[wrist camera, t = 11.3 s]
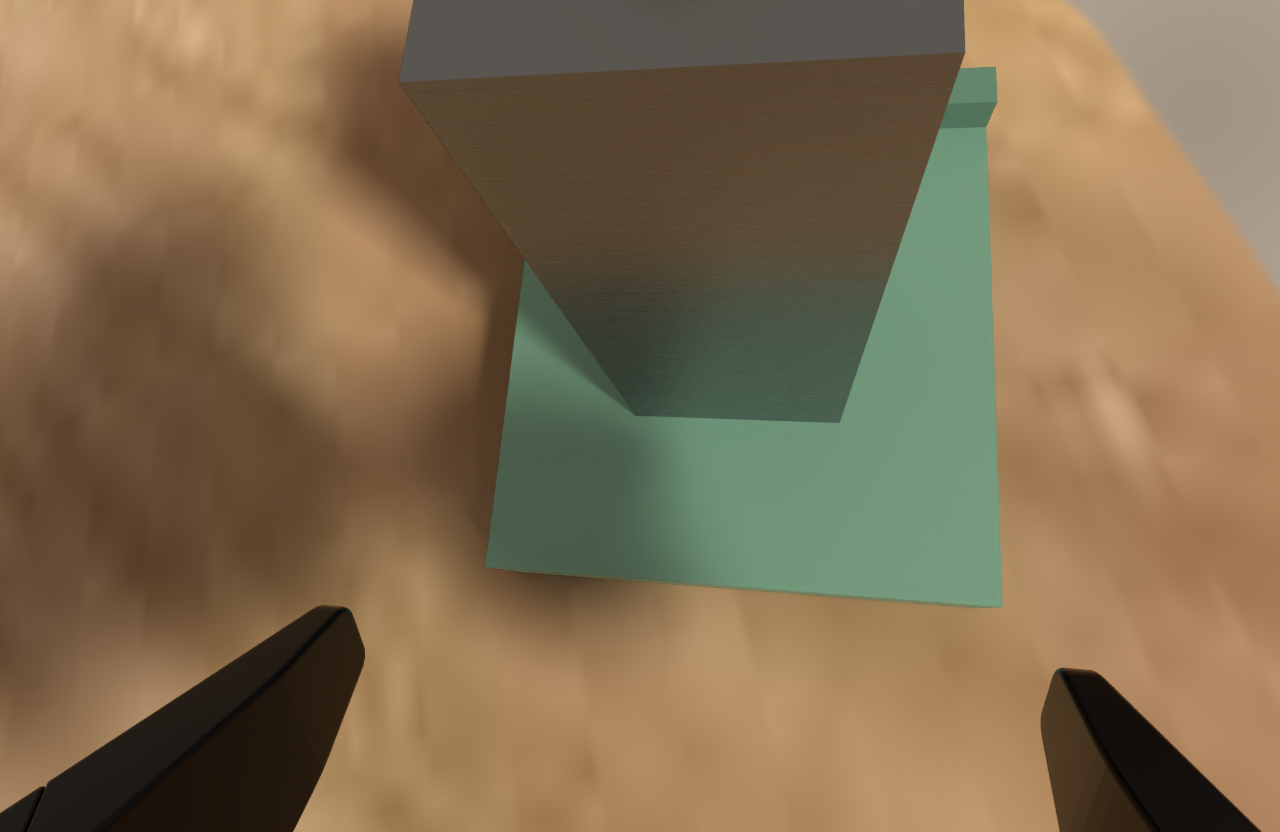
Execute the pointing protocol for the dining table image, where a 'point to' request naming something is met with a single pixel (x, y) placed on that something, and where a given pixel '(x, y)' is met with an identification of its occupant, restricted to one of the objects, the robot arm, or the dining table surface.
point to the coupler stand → (785, 438)
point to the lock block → (698, 176)
